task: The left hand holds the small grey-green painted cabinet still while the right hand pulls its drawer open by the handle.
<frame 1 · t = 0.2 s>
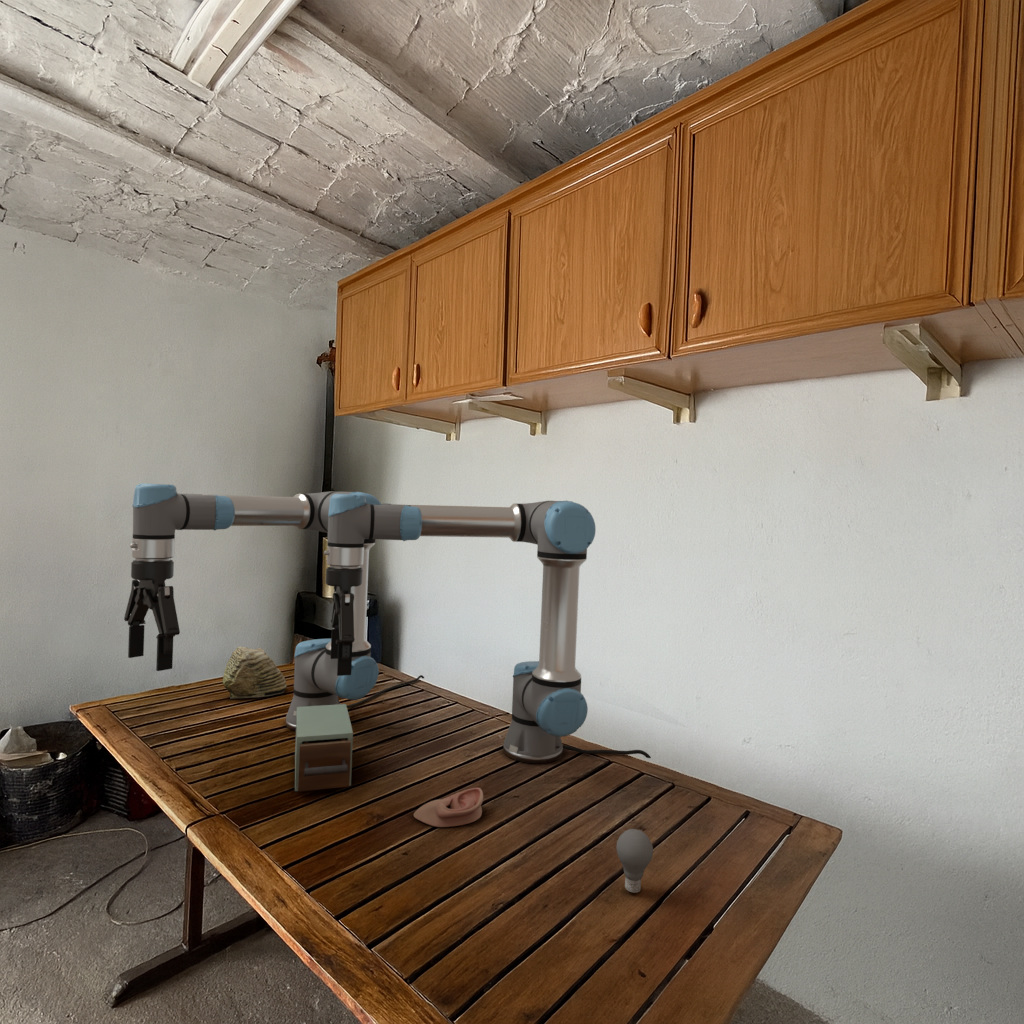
left hand: (149, 663, 129), 28 cm above the table, tool pointing down, fingers open, 13 cm apart
right hand: (340, 666, 134), 28 cm above the table, tool pointing down, fingers open, 13 cm apart
fossil: (254, 694, 198), on the table
cabinet: (321, 769, 147), on the table
drawer: (323, 754, 141), point 6 cm above the table, slide at 1.4 cm
light bulb: (632, 891, 106), on the table
anatomical model: (448, 814, 129), on the table
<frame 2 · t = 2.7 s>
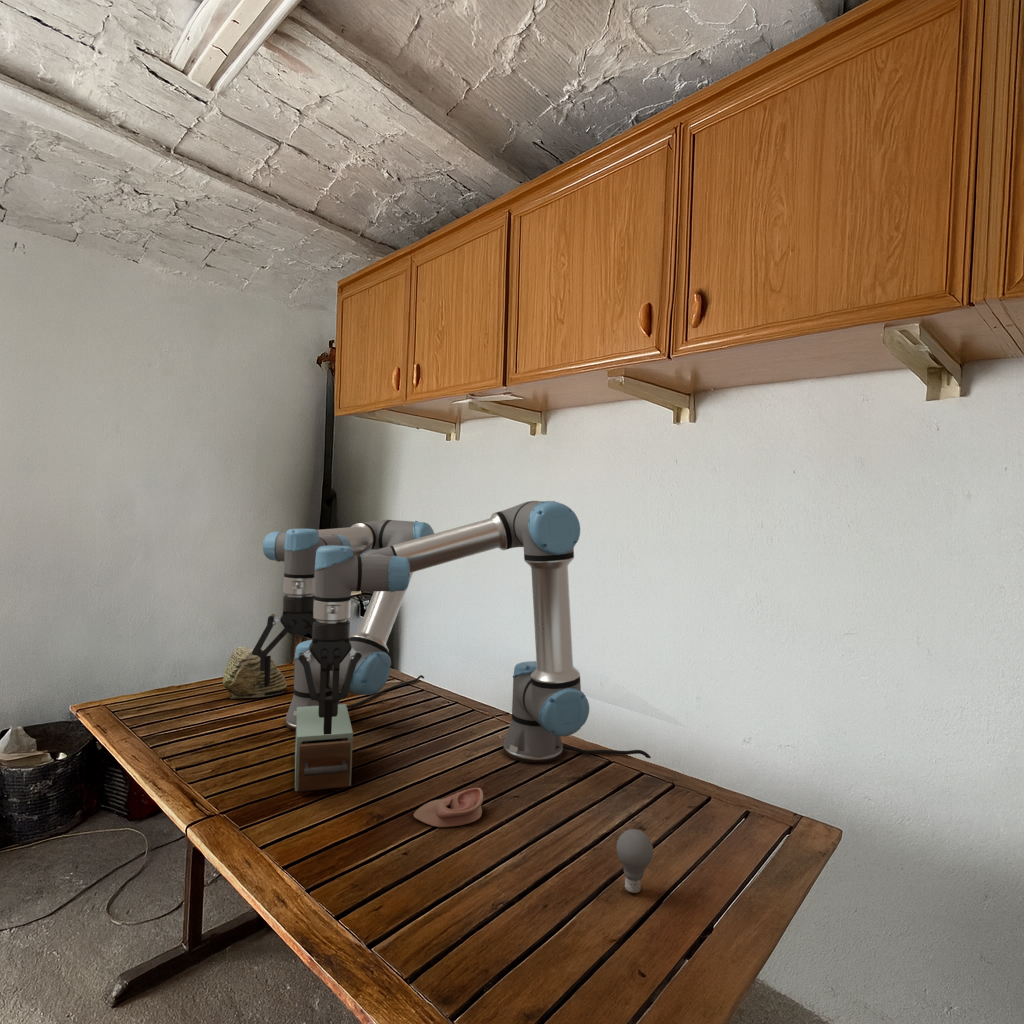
left hand: (297, 684, 149), 19 cm above the table, tool pointing down, fingers open, 13 cm apart
right hand: (327, 731, 133), 14 cm above the table, tool pointing down, fingers closed
nothing on the table moved.
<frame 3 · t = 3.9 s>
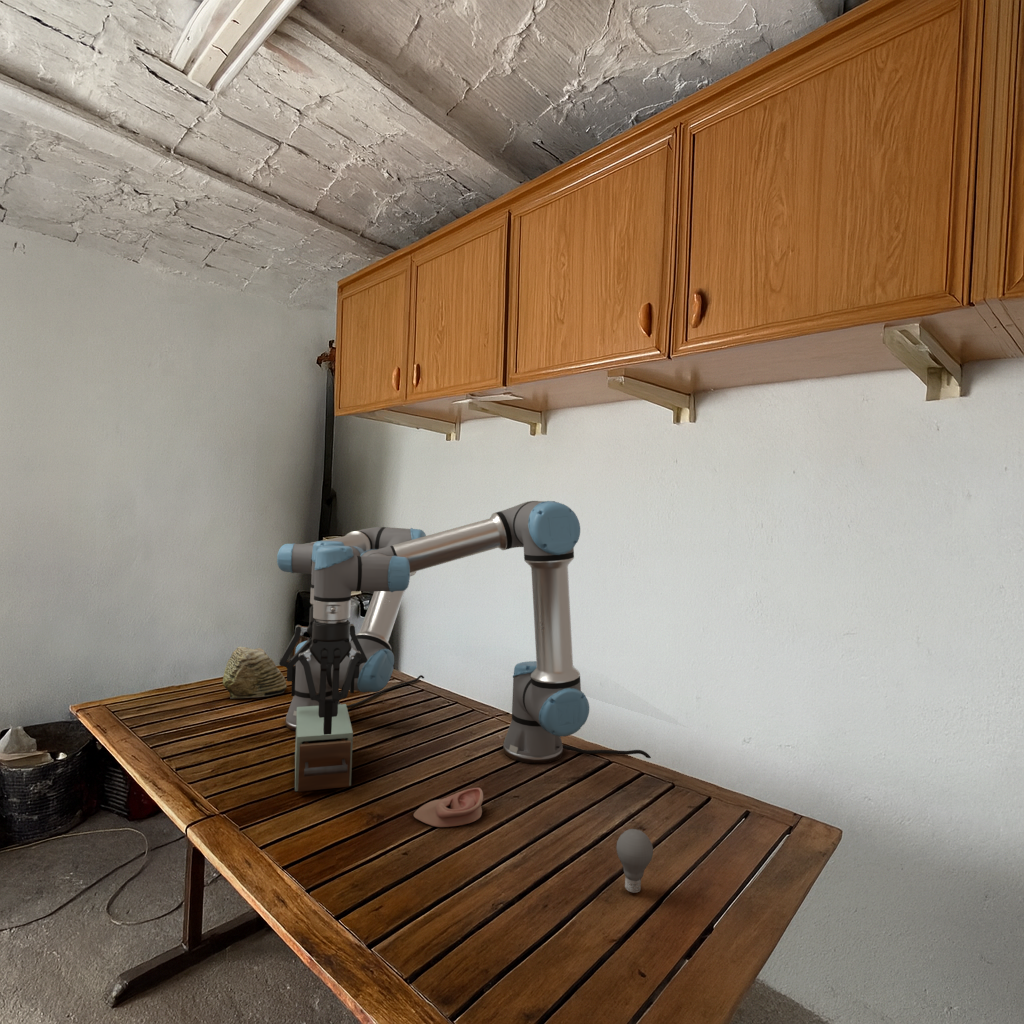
left hand: (322, 693, 153), 16 cm above the table, tool pointing down, fingers open, 13 cm apart
right hand: (327, 731, 133), 14 cm above the table, tool pointing down, fingers closed
nothing on the table moved.
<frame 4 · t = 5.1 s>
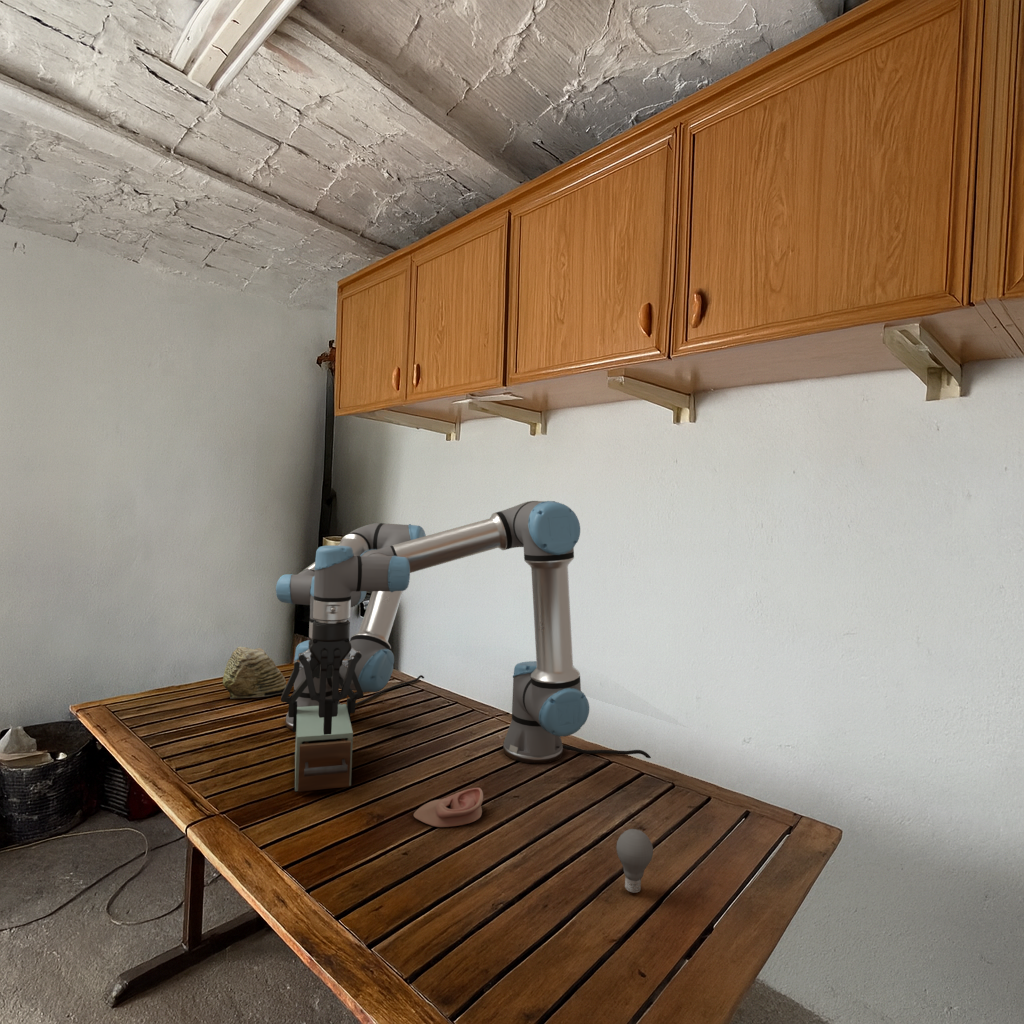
left hand: (321, 728, 153), 7 cm above the table, tool pointing down, fingers closed on cabinet, 12 cm apart
right hand: (327, 731, 133), 14 cm above the table, tool pointing down, fingers closed
cabinet: (321, 769, 147), on the table, touching left hand
everything else where it was.
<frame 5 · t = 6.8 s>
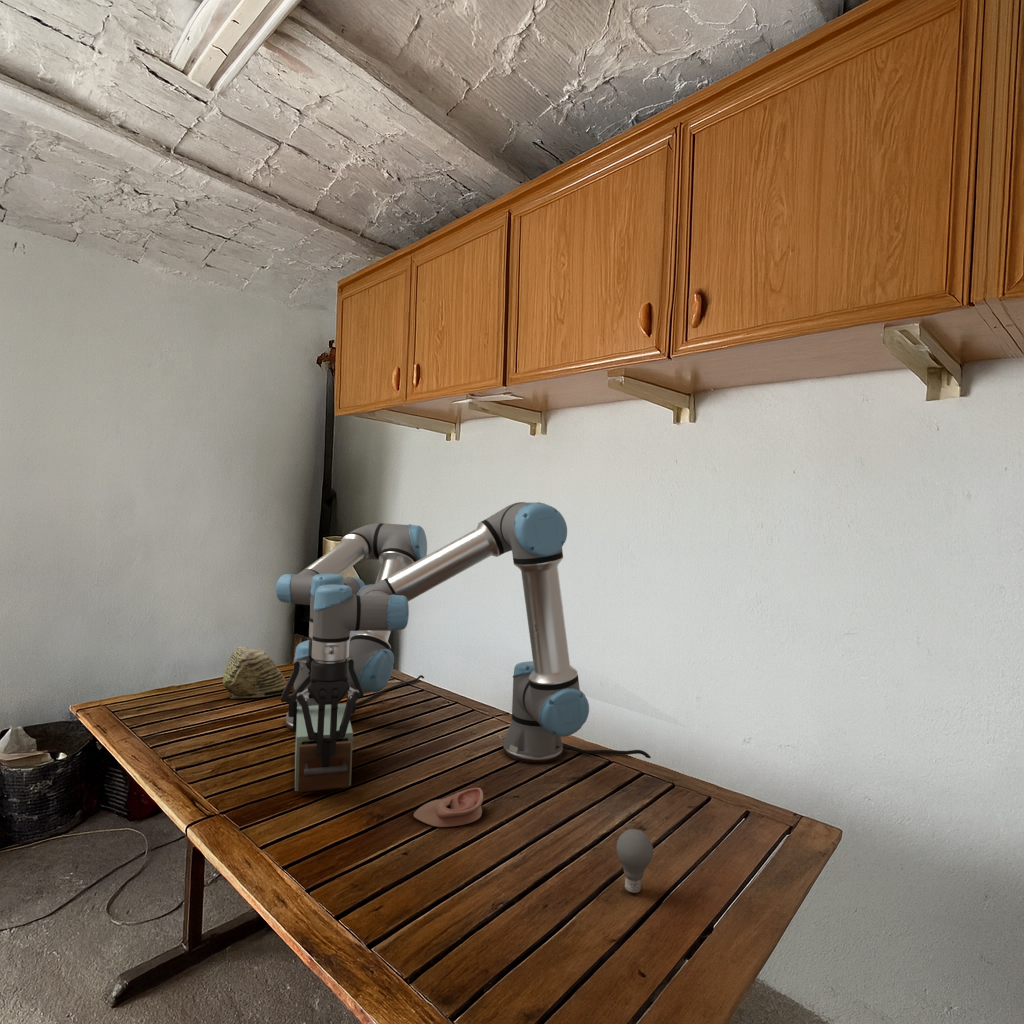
left hand: (321, 728, 153), 7 cm above the table, tool pointing down, fingers closed on cabinet, 12 cm apart
right hand: (324, 771, 133), 6 cm above the table, tool pointing down, fingers closed
cabinet: (321, 769, 147), on the table, touching left hand
everything else where it was.
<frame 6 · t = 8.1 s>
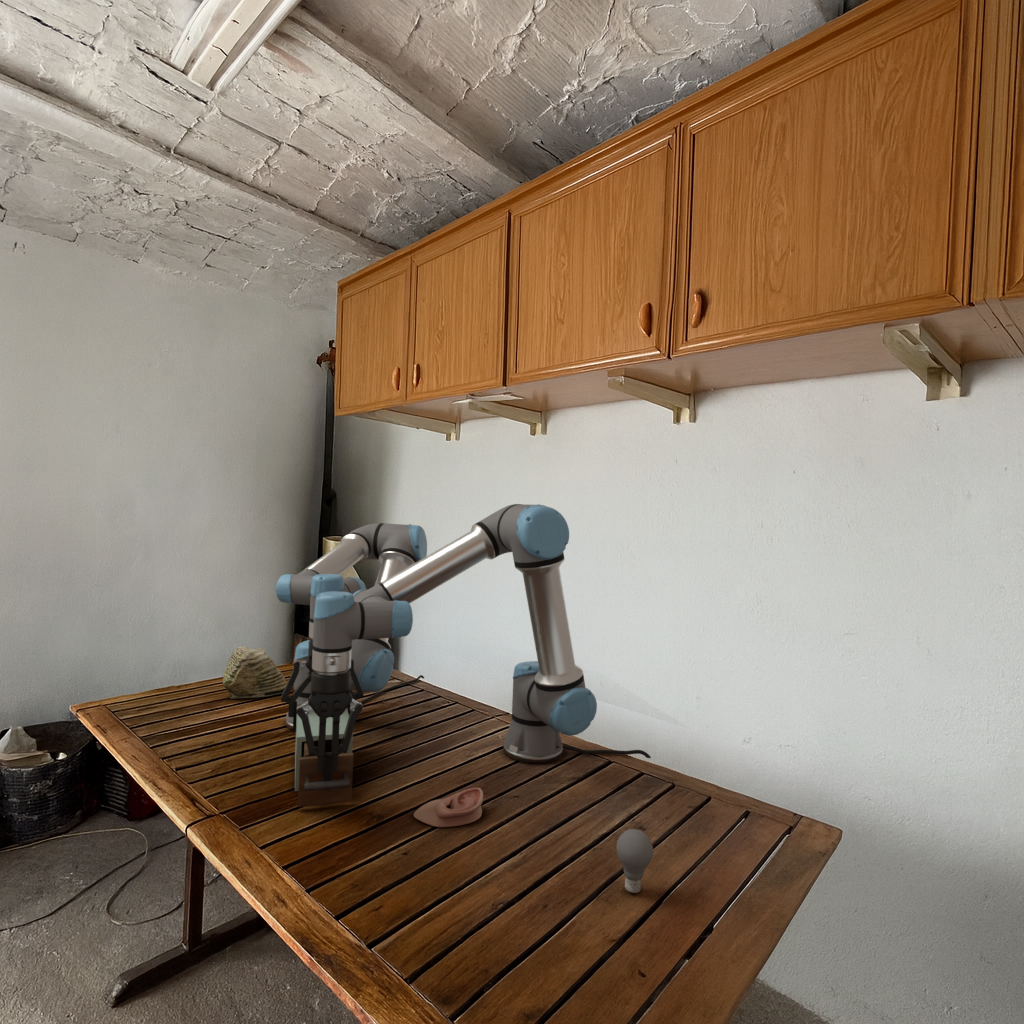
left hand: (321, 728, 153), 7 cm above the table, tool pointing down, fingers closed on cabinet, 12 cm apart
right hand: (326, 787, 127), 5 cm above the table, tool pointing down, fingers closed
cabinet: (321, 769, 147), on the table, touching left hand
drawer: (324, 767, 135), point 6 cm above the table, slide at 8.1 cm, touching right hand
everything else where it was.
when the left hand's fingers open (7 cm above the table, at t = 9.9 s): cabinet stays where it is, on the table.
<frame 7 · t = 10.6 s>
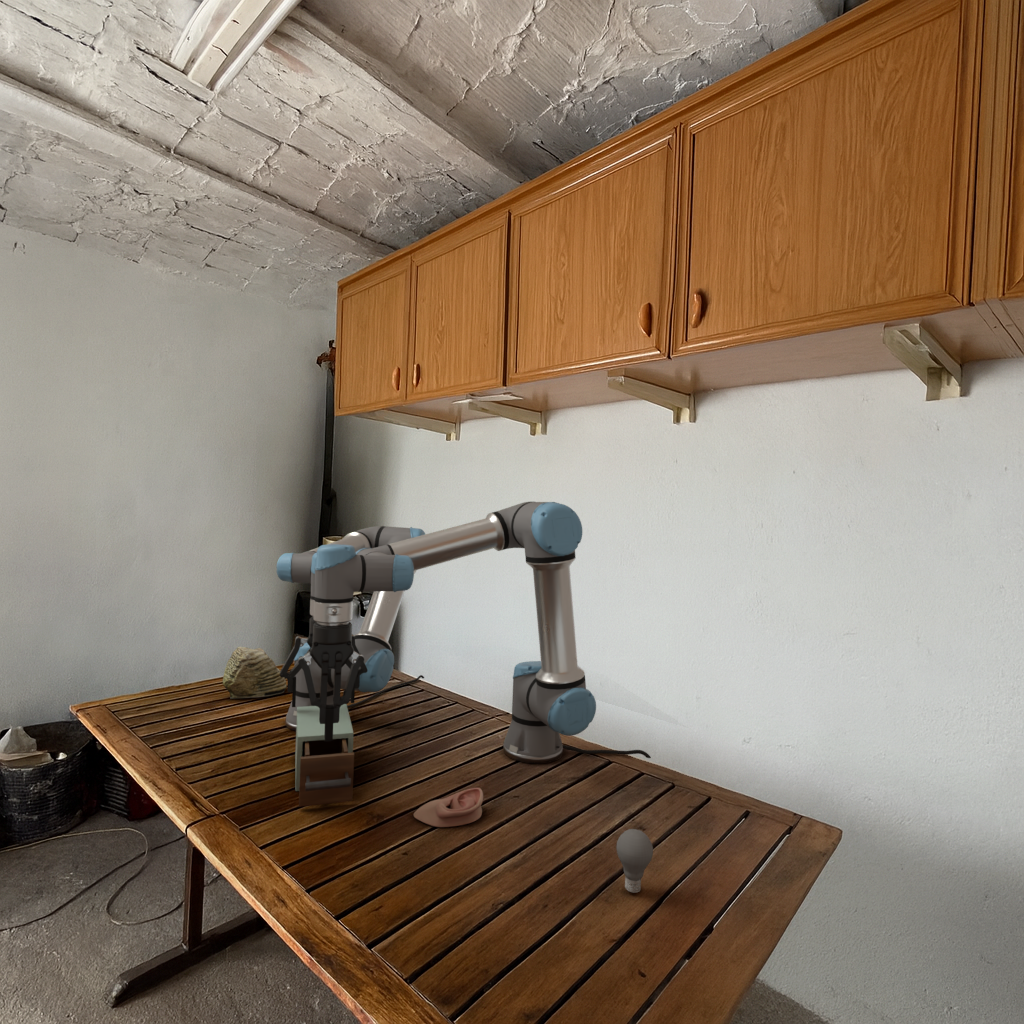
left hand: (323, 703, 153), 13 cm above the table, tool pointing down, fingers open, 13 cm apart
right hand: (328, 738, 127), 15 cm above the table, tool pointing down, fingers closed
cabinet: (321, 769, 147), on the table
drawer: (325, 766, 135), point 6 cm above the table, slide at 8.1 cm
everything else where it was.
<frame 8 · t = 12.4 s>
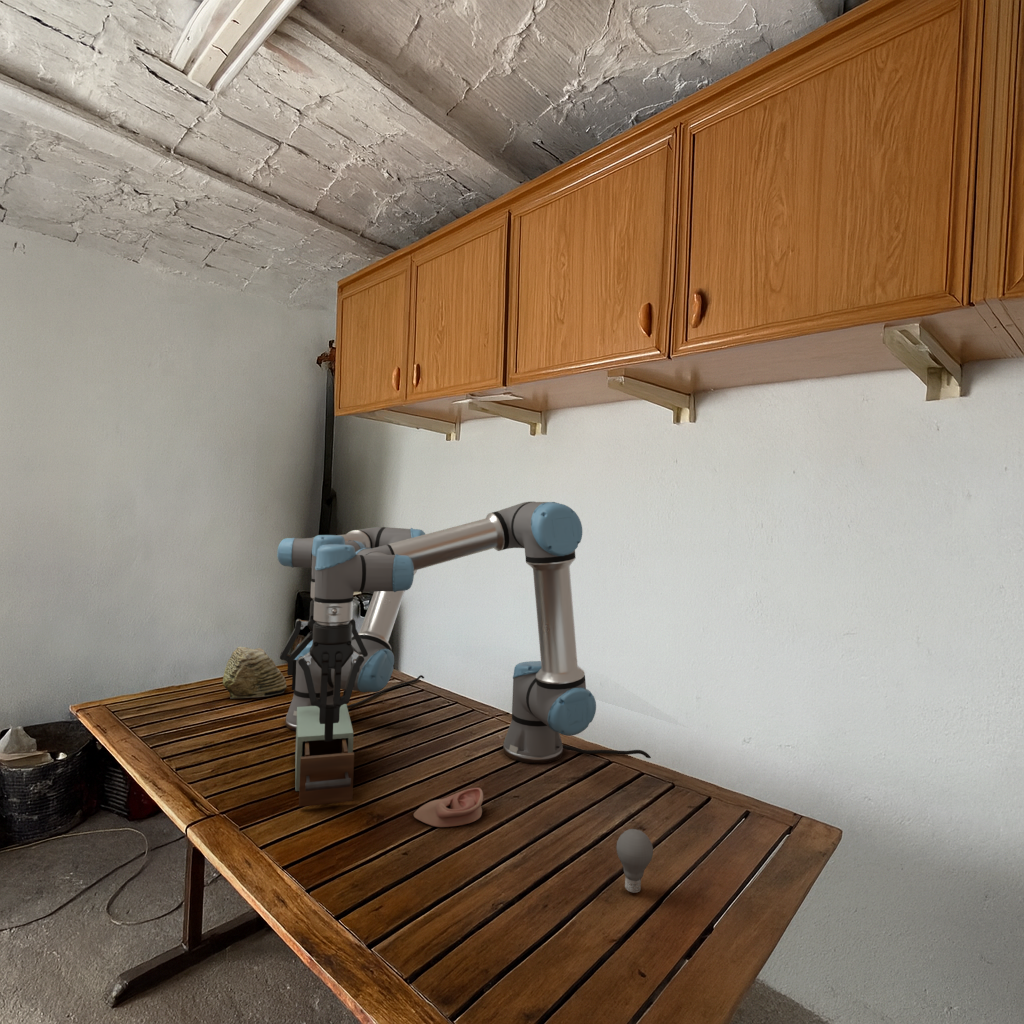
left hand: (323, 687, 153), 17 cm above the table, tool pointing down, fingers open, 13 cm apart
right hand: (328, 738, 127), 15 cm above the table, tool pointing down, fingers closed
nothing on the table moved.
at the end: drawer slide at 8.1 cm; cabinet tilted 0°; cabinet never tilted more than 1° during the clip; cabinet moved 0.1 cm from its start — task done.
